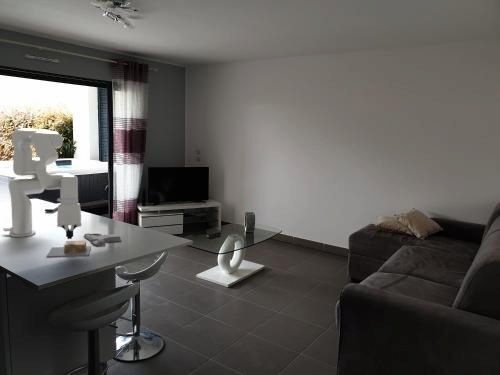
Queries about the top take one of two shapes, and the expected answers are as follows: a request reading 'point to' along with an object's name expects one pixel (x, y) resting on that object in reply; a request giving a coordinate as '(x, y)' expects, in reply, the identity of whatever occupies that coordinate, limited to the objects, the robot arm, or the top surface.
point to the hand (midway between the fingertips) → (69, 238)
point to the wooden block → (75, 246)
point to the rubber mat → (60, 253)
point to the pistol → (102, 238)
